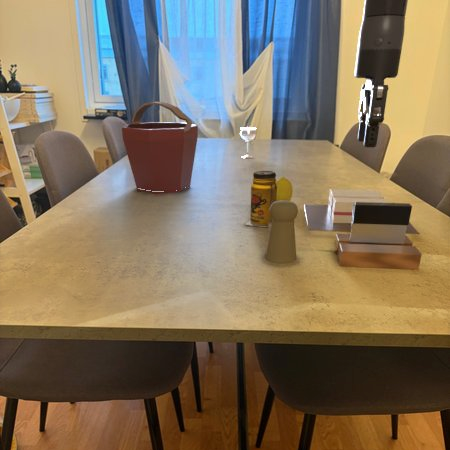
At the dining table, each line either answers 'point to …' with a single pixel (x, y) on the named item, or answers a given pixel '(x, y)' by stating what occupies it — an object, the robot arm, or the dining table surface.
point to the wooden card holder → (376, 254)
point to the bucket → (161, 151)
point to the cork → (282, 232)
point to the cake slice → (348, 208)
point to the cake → (352, 195)
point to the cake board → (322, 221)
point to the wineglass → (248, 137)
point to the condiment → (262, 197)
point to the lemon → (284, 189)
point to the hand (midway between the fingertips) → (366, 144)
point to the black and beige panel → (379, 223)
